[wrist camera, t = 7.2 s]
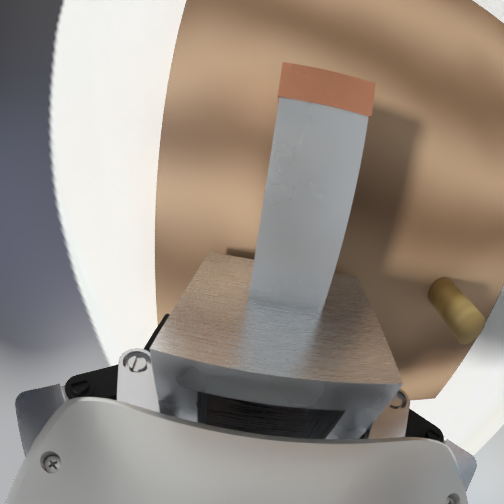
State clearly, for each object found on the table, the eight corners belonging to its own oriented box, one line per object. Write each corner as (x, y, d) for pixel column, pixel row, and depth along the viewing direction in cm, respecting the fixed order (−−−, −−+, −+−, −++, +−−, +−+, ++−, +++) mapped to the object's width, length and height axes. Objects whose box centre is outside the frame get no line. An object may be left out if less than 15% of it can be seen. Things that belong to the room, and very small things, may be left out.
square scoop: (318, 377, 14) (324, 473, 8) (203, 359, 14) (170, 452, 8) (396, 113, 8) (499, 99, 3) (230, 79, 9) (167, 14, 3)
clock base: (214, -54, 7) (188, -107, 2) (523, 52, 6) (571, 46, 1) (168, 359, 17) (140, 418, 12) (430, 387, 16) (449, 437, 11)
